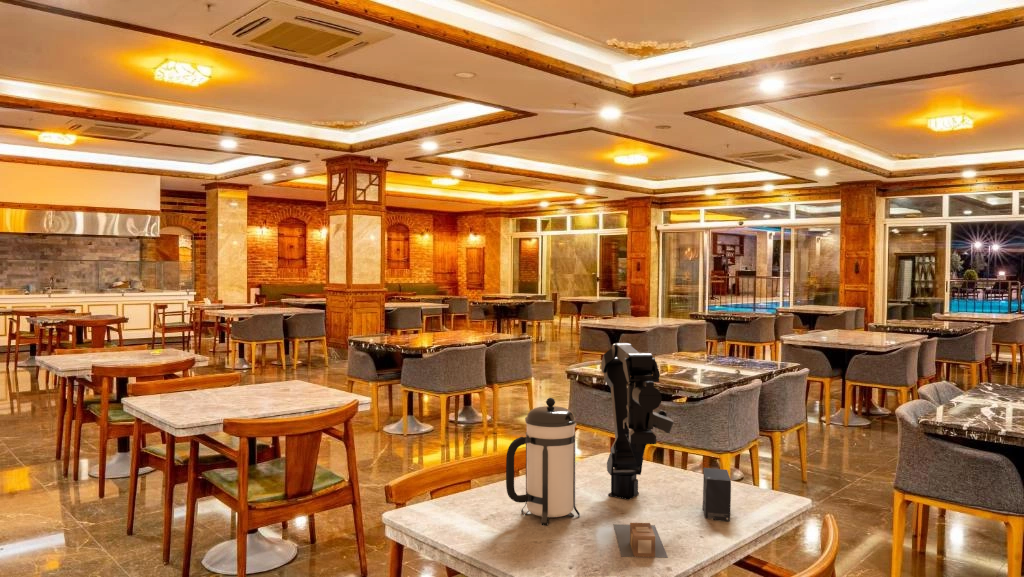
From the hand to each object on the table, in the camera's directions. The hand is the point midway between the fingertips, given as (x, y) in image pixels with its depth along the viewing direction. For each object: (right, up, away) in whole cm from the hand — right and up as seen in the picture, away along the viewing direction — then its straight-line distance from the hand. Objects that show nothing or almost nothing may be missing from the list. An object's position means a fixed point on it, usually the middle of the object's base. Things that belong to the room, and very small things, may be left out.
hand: (638, 464), depth 180 cm
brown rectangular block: (-3, -11, -19) cm, 22 cm away
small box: (+20, -13, +1) cm, 24 cm away
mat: (-3, -13, -18) cm, 22 cm away
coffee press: (-23, -13, -2) cm, 27 cm away
